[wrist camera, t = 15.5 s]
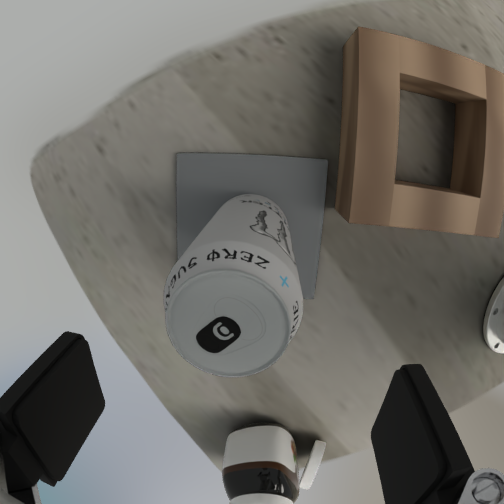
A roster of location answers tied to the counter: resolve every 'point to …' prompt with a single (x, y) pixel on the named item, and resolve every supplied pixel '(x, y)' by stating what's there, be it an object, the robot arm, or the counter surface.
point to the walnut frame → (386, 137)
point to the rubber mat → (259, 183)
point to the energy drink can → (236, 291)
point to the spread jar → (266, 465)
